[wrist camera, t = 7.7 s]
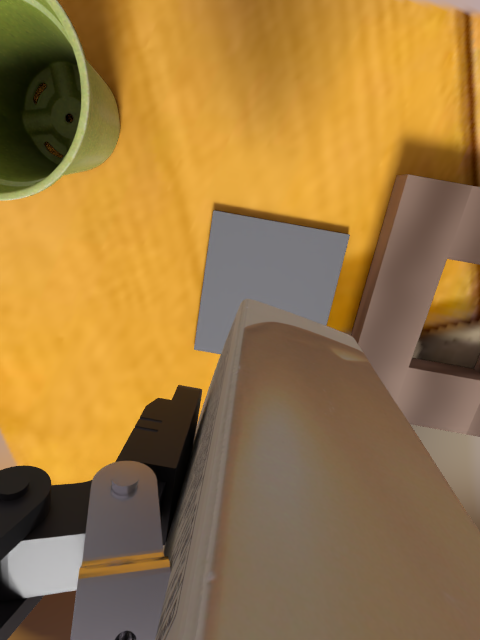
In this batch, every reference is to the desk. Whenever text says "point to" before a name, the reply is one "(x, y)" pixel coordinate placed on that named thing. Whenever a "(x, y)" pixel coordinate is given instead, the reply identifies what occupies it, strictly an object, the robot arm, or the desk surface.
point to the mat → (266, 272)
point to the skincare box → (313, 503)
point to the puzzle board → (420, 300)
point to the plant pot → (48, 100)
